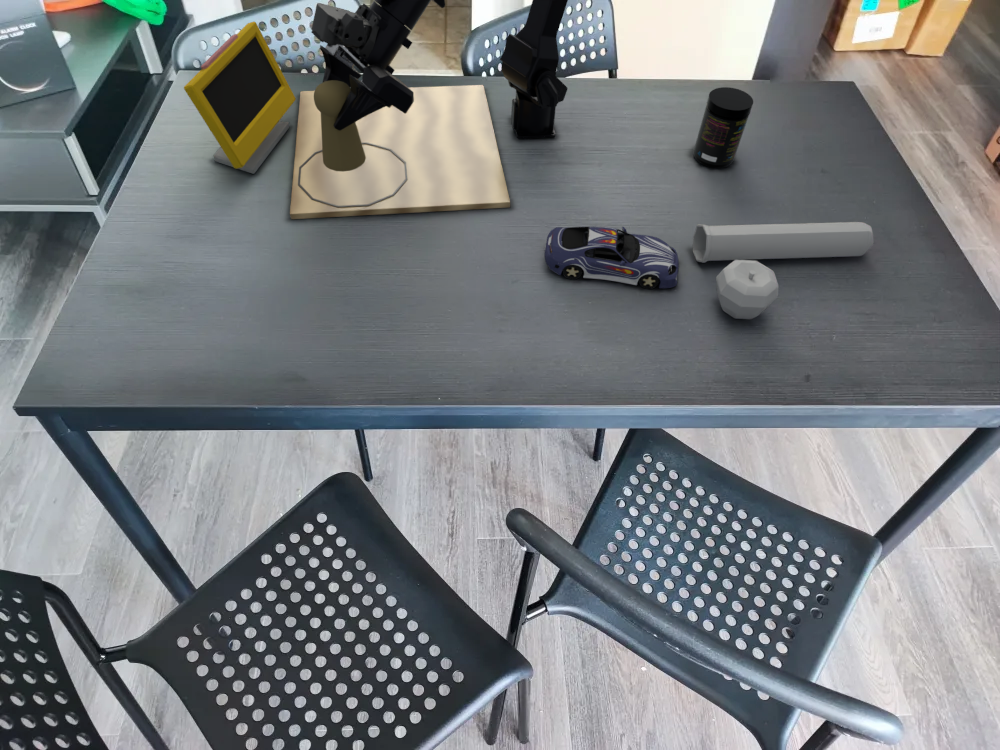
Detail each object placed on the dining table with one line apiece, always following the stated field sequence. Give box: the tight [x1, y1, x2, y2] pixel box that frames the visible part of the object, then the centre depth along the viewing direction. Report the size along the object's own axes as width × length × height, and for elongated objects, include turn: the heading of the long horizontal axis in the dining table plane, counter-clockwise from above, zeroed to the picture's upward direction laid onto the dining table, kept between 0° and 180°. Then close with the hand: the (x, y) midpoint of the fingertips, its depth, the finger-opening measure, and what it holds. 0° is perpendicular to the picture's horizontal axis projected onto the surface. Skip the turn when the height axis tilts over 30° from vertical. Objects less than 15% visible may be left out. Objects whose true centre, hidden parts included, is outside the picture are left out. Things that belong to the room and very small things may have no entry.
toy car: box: [543, 225, 680, 290], centre depth 96 cm, size 8×18×5 cm, turn 82°
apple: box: [715, 259, 779, 320], centre depth 90 cm, size 8×8×7 cm
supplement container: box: [692, 86, 754, 169], centre depth 111 cm, size 7×7×10 cm
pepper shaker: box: [314, 80, 366, 172], centre depth 96 cm, size 6×6×11 cm
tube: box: [692, 221, 875, 263], centre depth 98 cm, size 5×5×25 cm
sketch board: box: [289, 84, 511, 220], centre depth 113 cm, size 32×34×1 cm
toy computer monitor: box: [183, 21, 297, 174], centre depth 106 cm, size 20×8×16 cm, turn 168°
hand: (327, 119), depth 94 cm, fingers closed on pepper shaker, 5 cm apart
